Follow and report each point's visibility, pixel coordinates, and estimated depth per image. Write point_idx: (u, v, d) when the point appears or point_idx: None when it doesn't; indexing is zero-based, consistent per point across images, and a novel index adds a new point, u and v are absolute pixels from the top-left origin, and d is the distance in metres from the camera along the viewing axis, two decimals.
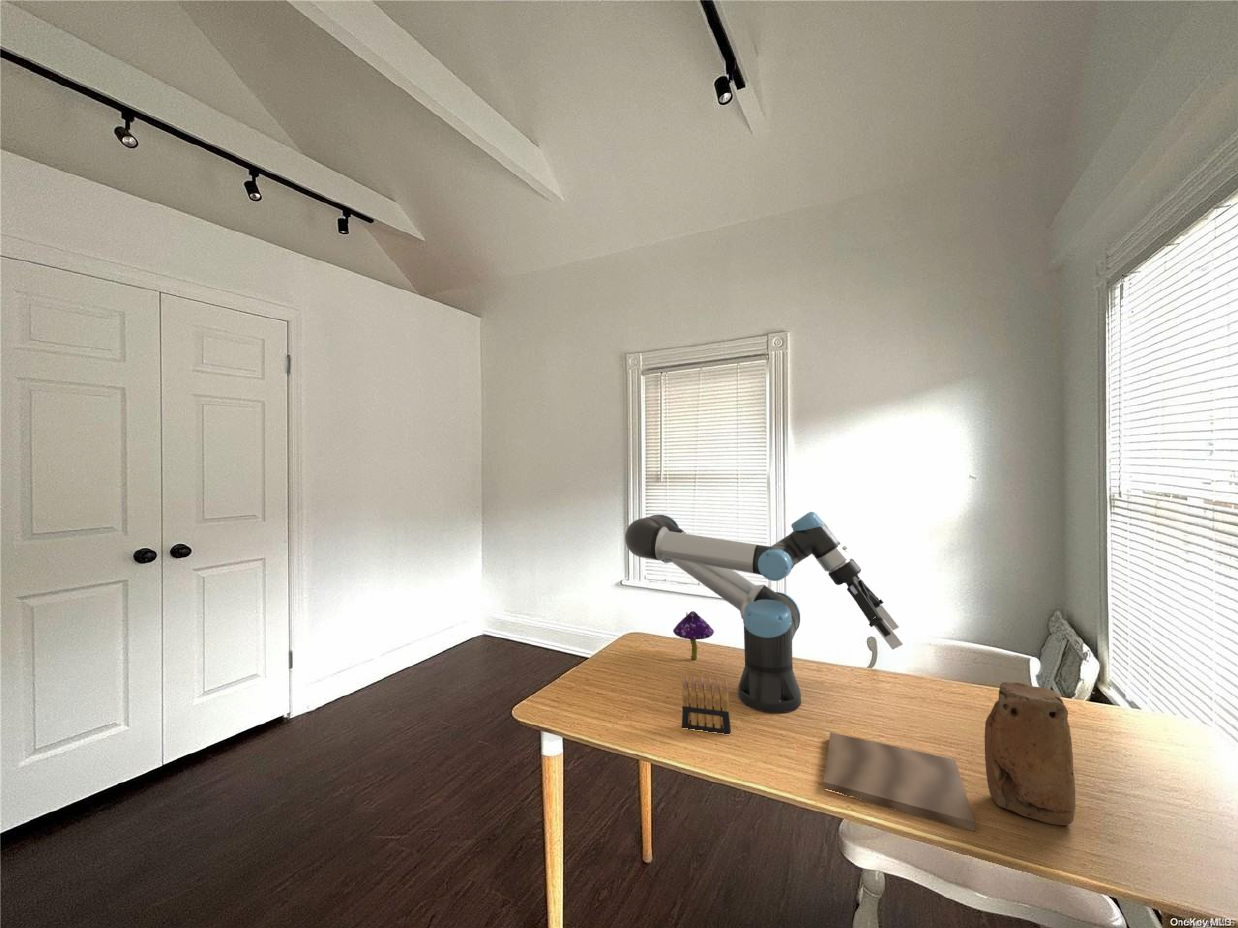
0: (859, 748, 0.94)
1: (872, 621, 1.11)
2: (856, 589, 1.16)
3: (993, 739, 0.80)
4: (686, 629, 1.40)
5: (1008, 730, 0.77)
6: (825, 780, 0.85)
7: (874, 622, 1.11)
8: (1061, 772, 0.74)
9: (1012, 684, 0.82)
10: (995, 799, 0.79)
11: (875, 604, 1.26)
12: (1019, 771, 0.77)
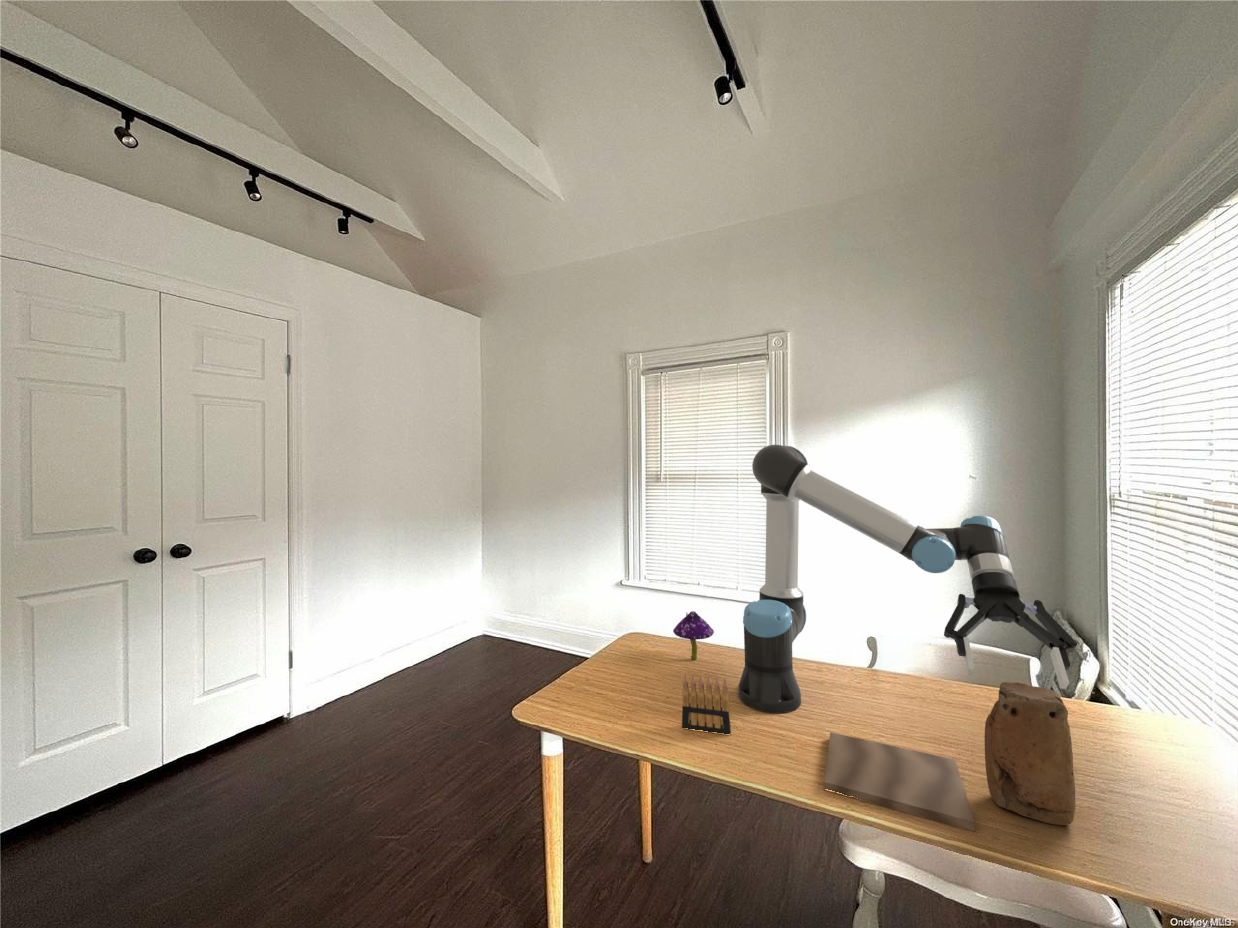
0: (859, 748, 0.94)
1: None
2: None
3: (993, 739, 0.80)
4: (686, 629, 1.40)
5: (1008, 730, 0.77)
6: (825, 780, 0.85)
7: (1075, 646, 0.87)
8: (1061, 772, 0.74)
9: (1012, 684, 0.82)
10: (995, 799, 0.79)
11: None
12: (1019, 771, 0.77)
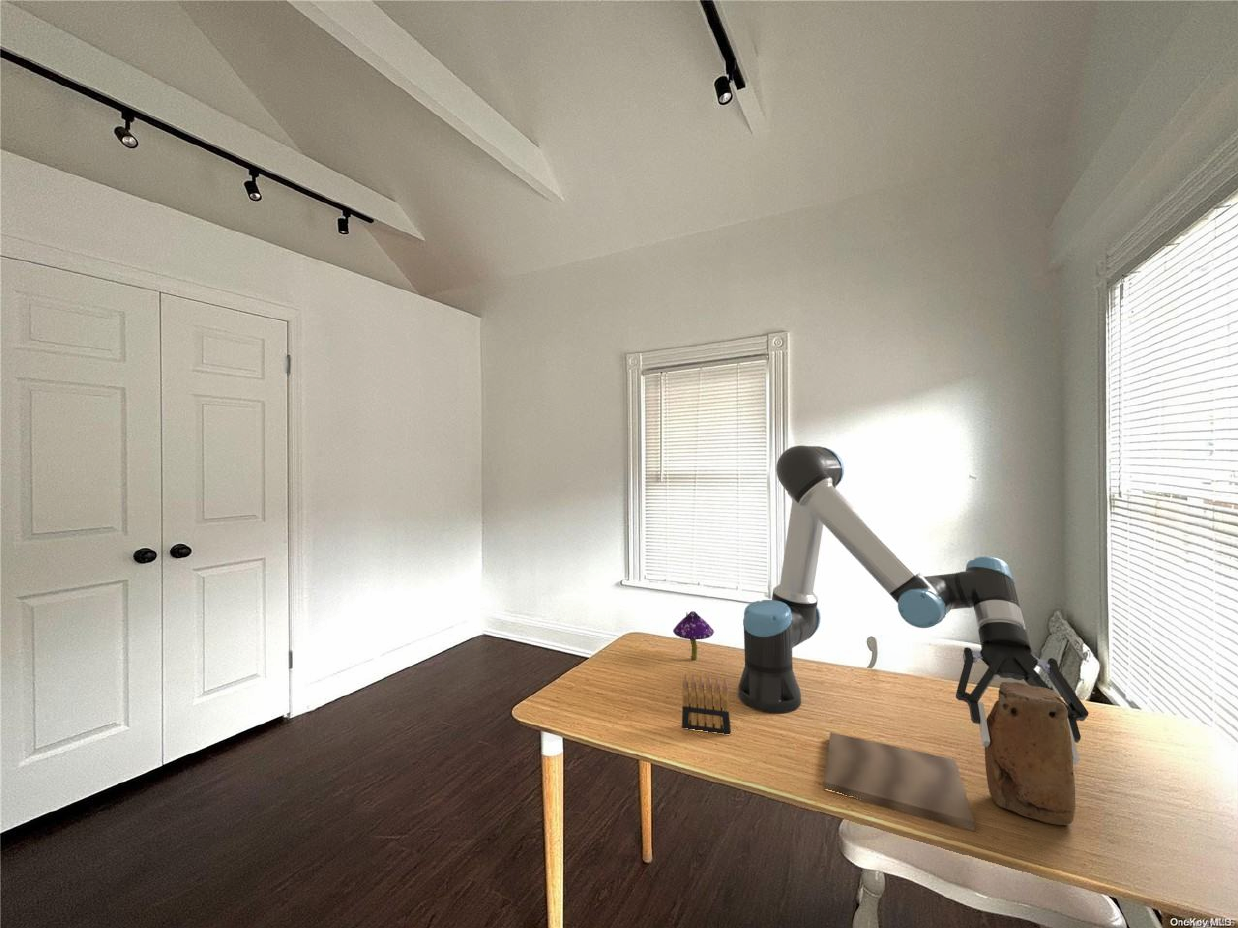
0: (859, 748, 0.94)
1: None
2: None
3: (993, 739, 0.80)
4: (686, 629, 1.40)
5: (1008, 730, 0.77)
6: (825, 780, 0.85)
7: (1087, 715, 0.79)
8: (1061, 771, 0.74)
9: (1012, 684, 0.82)
10: (995, 799, 0.79)
11: None
12: (1019, 771, 0.77)
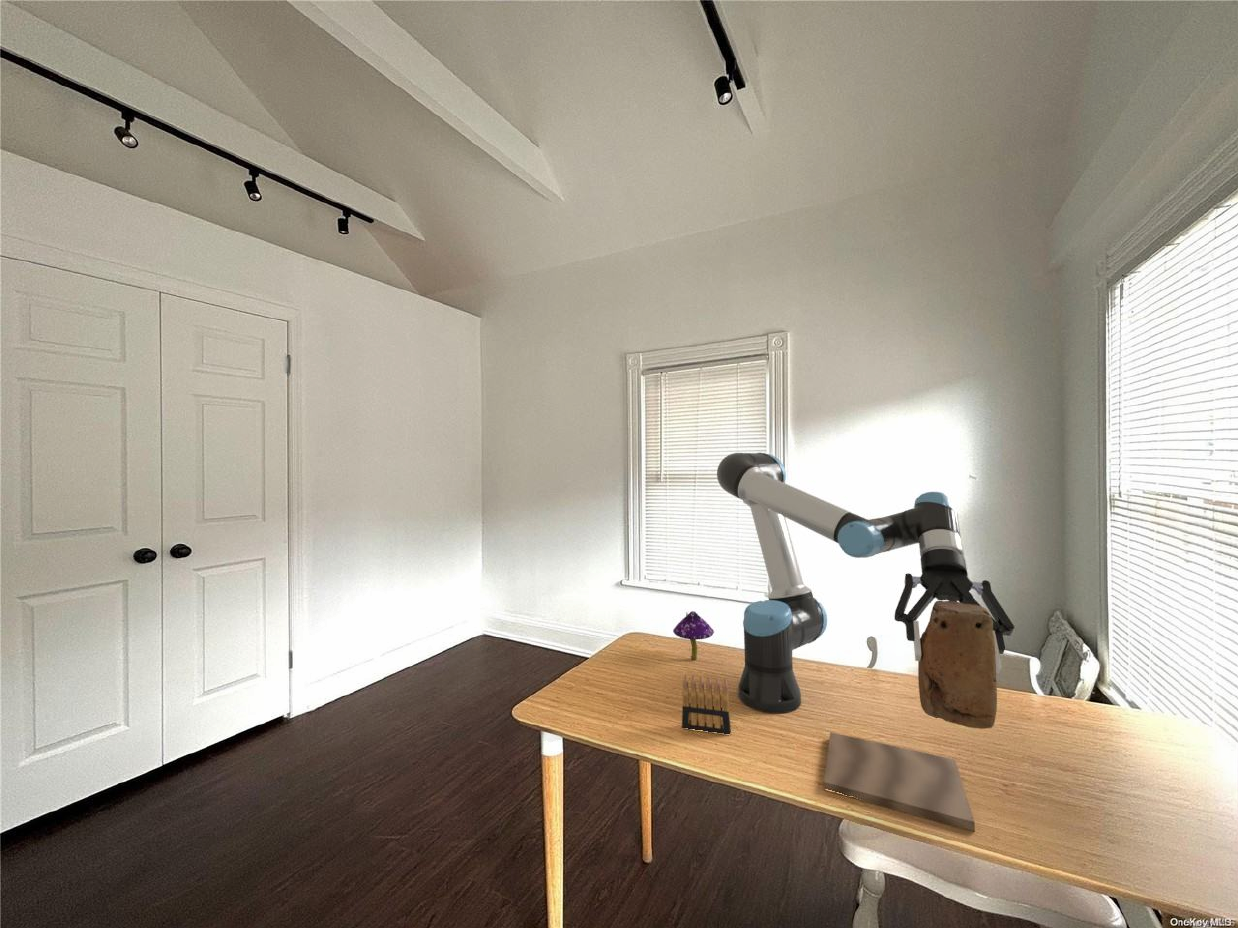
0: (859, 748, 0.94)
1: None
2: None
3: (924, 653, 0.83)
4: (686, 629, 1.40)
5: (937, 642, 0.81)
6: (825, 780, 0.85)
7: (1013, 629, 0.82)
8: (984, 678, 0.78)
9: (945, 602, 0.85)
10: (924, 709, 0.83)
11: None
12: (946, 680, 0.80)
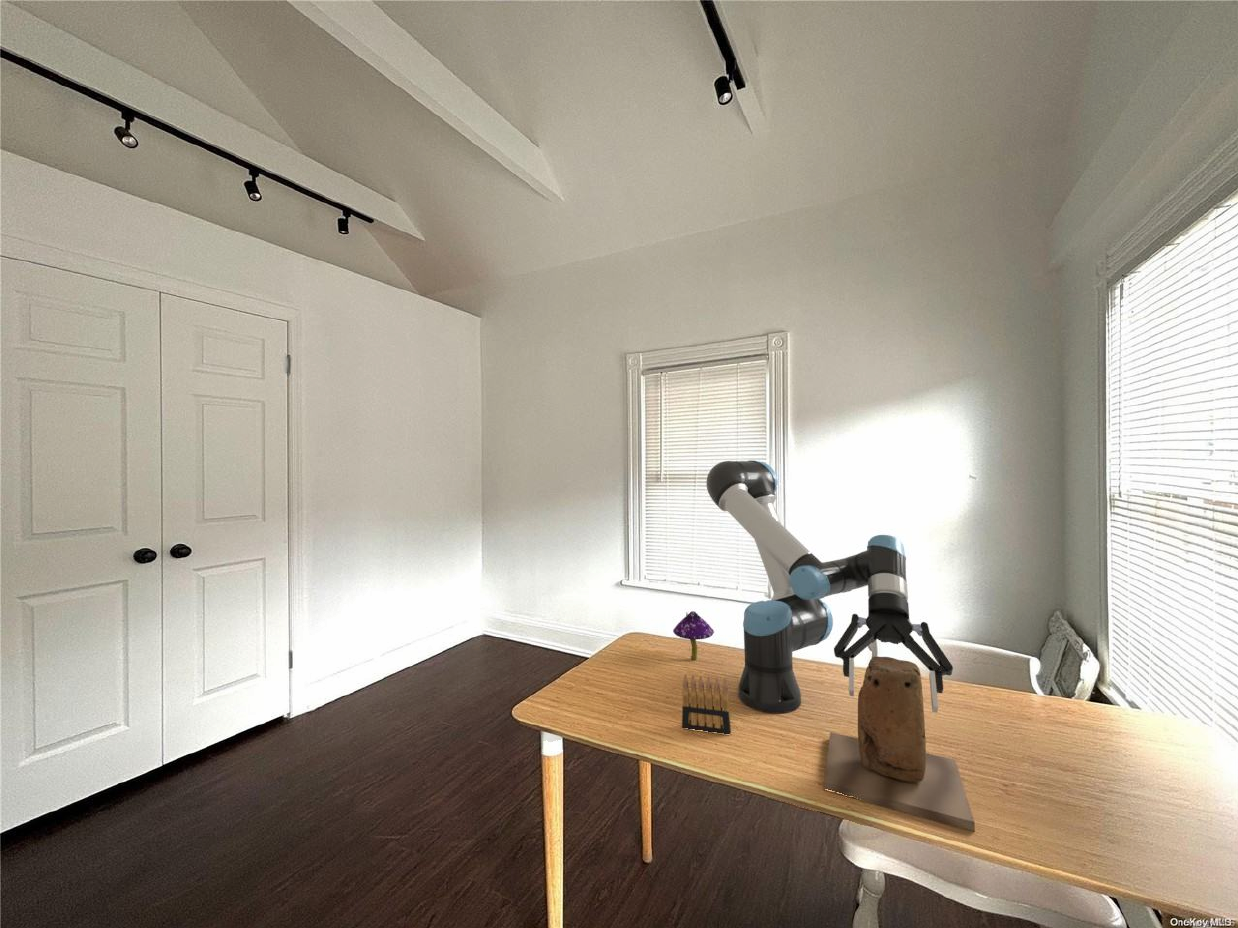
0: None
1: None
2: None
3: (860, 708, 0.88)
4: (686, 629, 1.40)
5: (871, 699, 0.86)
6: (825, 780, 0.85)
7: None
8: (913, 735, 0.83)
9: (881, 658, 0.90)
10: (861, 760, 0.88)
11: (849, 656, 0.96)
12: (879, 735, 0.85)
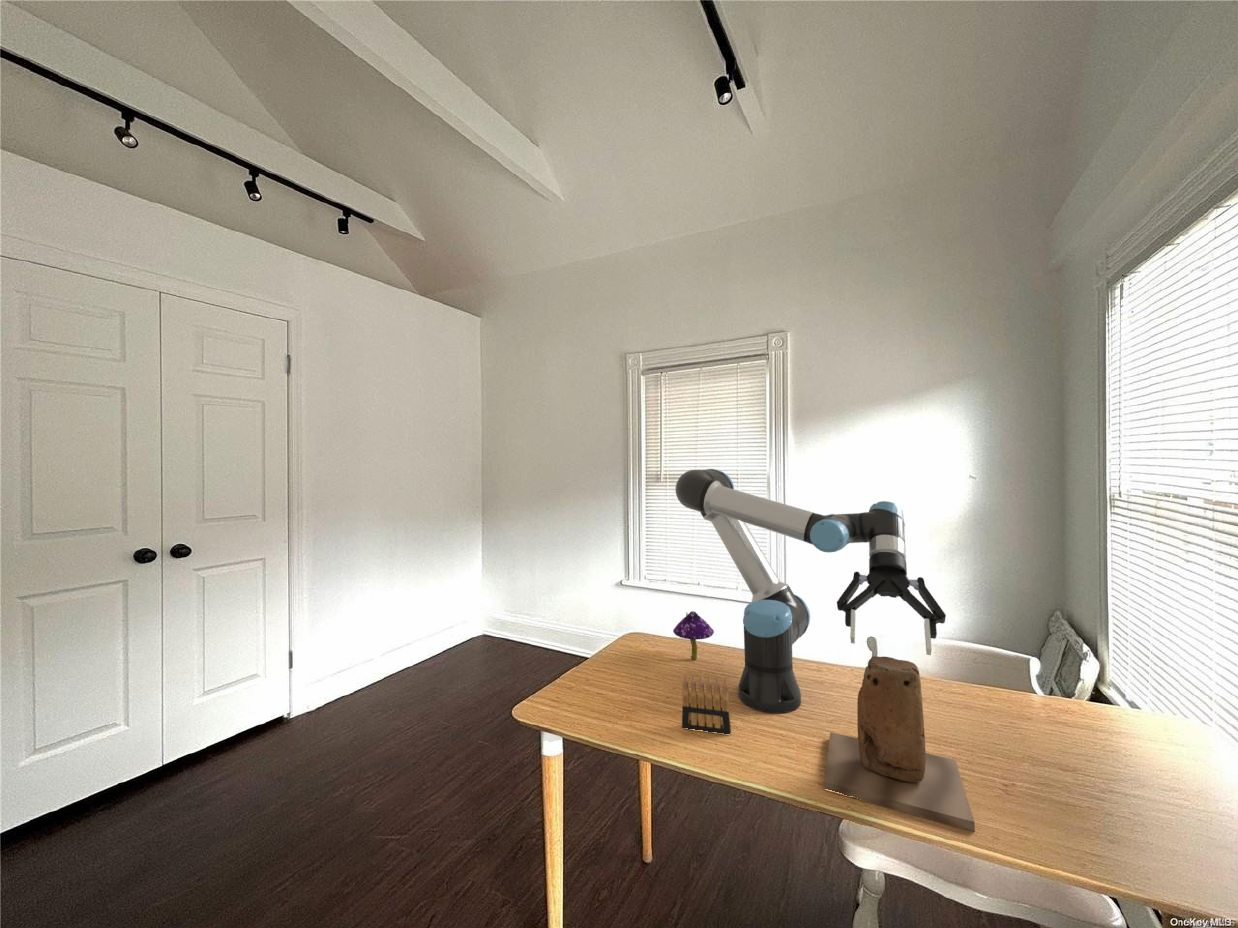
0: None
1: None
2: None
3: (860, 707, 0.88)
4: (686, 629, 1.40)
5: (870, 698, 0.86)
6: (825, 780, 0.85)
7: None
8: (912, 734, 0.83)
9: (880, 658, 0.90)
10: (861, 761, 0.88)
11: (851, 609, 1.04)
12: (879, 734, 0.85)
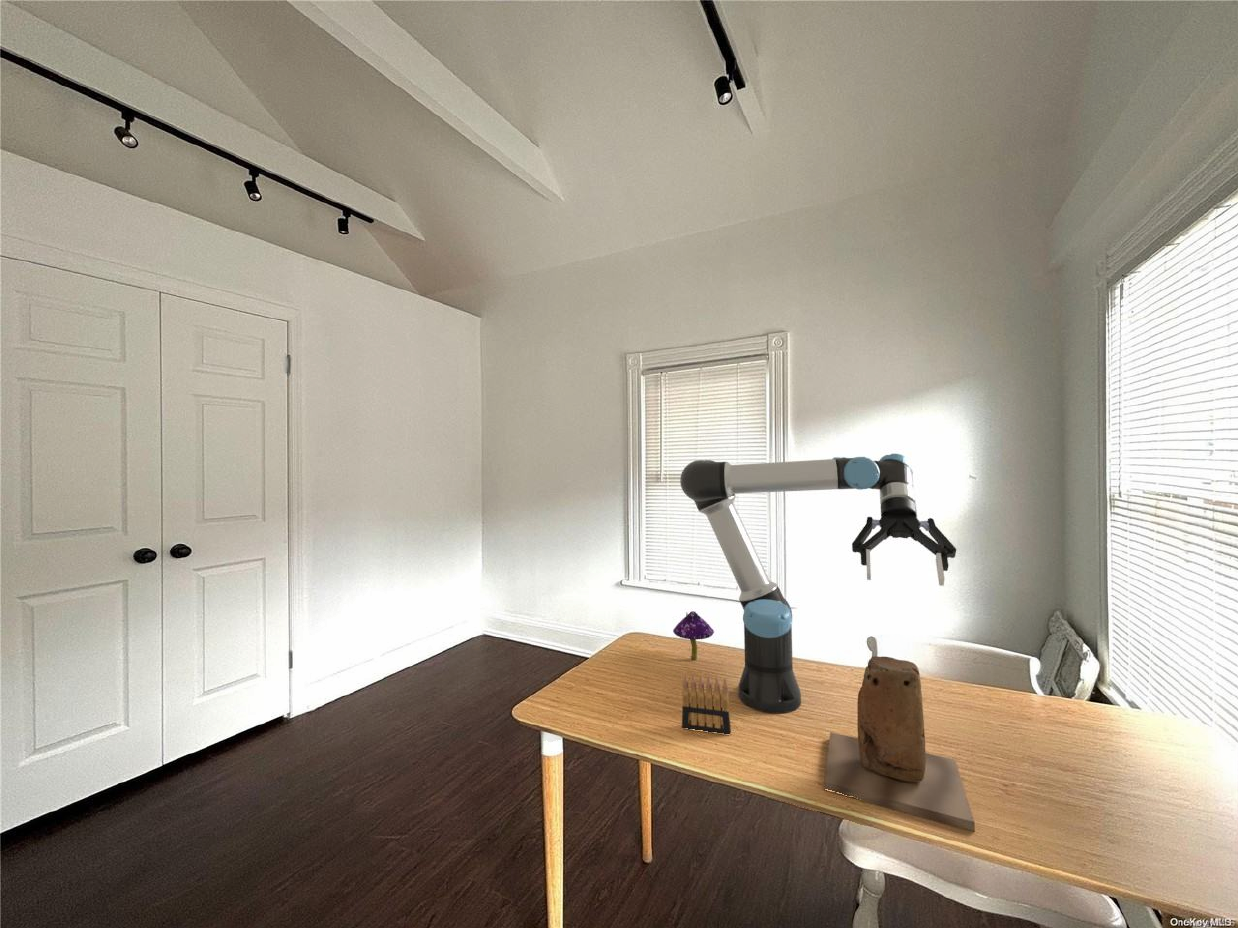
0: None
1: None
2: None
3: (860, 707, 0.88)
4: (686, 629, 1.40)
5: (870, 698, 0.86)
6: (825, 780, 0.85)
7: (955, 552, 1.02)
8: (912, 734, 0.83)
9: (880, 658, 0.90)
10: (861, 761, 0.88)
11: None
12: (879, 734, 0.85)
